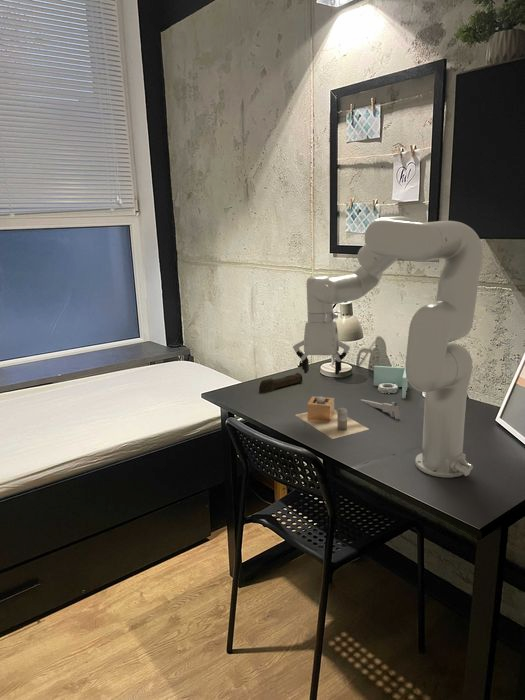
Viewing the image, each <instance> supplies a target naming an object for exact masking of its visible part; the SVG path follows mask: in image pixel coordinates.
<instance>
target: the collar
mask: <svg viewBox="0 0 525 700" xmlns="http://www.w3.org/2000/svg"><path fill="white" fill-rule="evenodd" d="M317 397H318V396H314V395H313V396H311V398H310V399H309V401H308V402H307V404H306V405H307V406H306V407H307V417H308V419H311V420H322V421H330V420H331V418H332V416H333V414H334V410H335V397H326V396H324V397H325V402H328V403H327V404H318V403H315V402H316V401H317Z"/></svg>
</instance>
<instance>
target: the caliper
mask: <svg viewBox="0 0 525 700" xmlns="http://www.w3.org/2000/svg"><path fill="white" fill-rule="evenodd" d="M360 402H363V403H364V404H366V405H368V406H370V407H372V408H376V409H381V410H382V412H384V413H389V416H390V417H391V418H394V419H395V420H400V408H399V405H398V402H397V401H396V402H395V401H391V403H387V402H383V403H380V402H376V401H372V400H368V399H367V400H366V399H360Z"/></svg>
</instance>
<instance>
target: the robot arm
mask: <svg viewBox="0 0 525 700" xmlns="http://www.w3.org/2000/svg"><path fill="white" fill-rule="evenodd" d="M364 242H365V243H364V245H363V246H362V247H360V248H359V250H358V252H357V260H358V263H359V267H358V268H357V269H356V270H355V271H354V272H352V273H350V274H344V275H339V276H329V275H313V276H310V277H308V278H307V279H306V303H307V305H306V306H307V309H306V310H307V311H306V312H307V321H305V324H304V325H305V326H304V334H303V335H304V336H303V340H301V341H300V342H298V343H296V344H294V345H293V347H292V348H293V350H294V352H295V354H296V355H297V356H298V357H299V359H300V360H301V363H302V364H301V365H302V370H303V374H307V373H308V372H309V371H310V370H309V369H310V366H309V358H308V357H309V356H332V357H333V358H334V359H335V363H334V364H335V365H334V368H335V369H334V370H335V371H334V373H335V375H337V376H338V375H339V374H340V372H341V371H342V360H344V358H345V357H347V355H348V353H349V351H350V349H351V346H350V345H348V344H346V343H344V342H342V341H340V340H339V333H338V330H339V329H338V324H337V321H336V320H335V319H338V318H339V315H338V313H335V312H334V307H333V306H334V305H336V304H342V303H346V302H351V301H356V300H360V299H361V298H363V297H364V296H366V294H368V293H369V292H371V290H373V289H374V288H375V287H376V286H377V285H378V284H379V283H380V281H381V279H382V277H383V273H384V272H386V270H387V269H388V268H390V267H391V266H393V264H394V263H396V262H397V261H398V260H404V261H410V262H417V263H425V262H432V261H438V260H444V261H445V264H444V266H443V268H442V271H441V273H440V276H439V279H438V281H437V290H436V291H437V292H436V297H435V301H434V302H432V303H429V304H426V305H424V306H421V307H420V308H418V310H417V311H415V313H414V314H413V316H412V318H411V320H410V324H409V327H408V328H409V329H408V338H407V346H406V354H405V364H404V365H405V367H404V368H405V370H406V376H407V379H408V384H410V386H411V387H412V388H413V389H415V390H417V391H418V392H421V393H425V395H424V404H423V405H424V406H423V427H422V428H423V429H422V444H421V445H422V446H421V447H422V448H421V449H422V451H421V453H419V454H417V455H416V456H415V458H414V460H415V461H414V464H415V466H416V468H418V470H419V471H421V472H422V473H425V474H428V475H429V476H433V477H438V478H446V479H447V478H457V477H461V476H463V475H464V476H465V477H467V476H469V475H470V473H471V471H472V470H473V469H474V465H473V464H471V463H470V462H468V461H467V460H466V458H467V457H466V456H467V455H466V454H465V453H464V452H463V449H464V437H465V435H464V434H465V420H466V419H465V417H466V410H467V409H466V408H467V397H468V396H467V395H468V391H469V390H468V389H469V385H470V381H471V377H472V373H473V358H472V355H471V354H470V351H469V350H468V349H467V348H466V347H464V346H463V345H461V344H460V343H456V342H455V341H458V340H460V339H462V338H465V337H467V336H468V334H470V332H471V331H472V328H473V325H474V324H473V323H474V317H475V310H476V303H477V297H478V296H477V295H478V287H479V281H480V276H481V275H480V274H481V270H482V264H483V257H484V251H483V243H482V240H481V238H480V237H479V234H478V233H477V232H476V231H475V230H474V229H473V228H472V227H471V226H469V225H467V224H465V223H463V222H460V221H456V220H437V221H427V222H418V221H417V222H416V220H414V219H412V218H410V217H407V216H399V215H398V216H384V217H378V218H376V219H374V220H373V221H372V222H370V224H369V225H368V226H367V228H366V229H365V233H364ZM301 347H303V351H304V352H303V351H302V350H301V349H300V348H301ZM340 348H341V349H343V352H342V353H340V352H339V351H340Z"/></svg>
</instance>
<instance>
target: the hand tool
mask: <svg viewBox="0 0 525 700" xmlns="http://www.w3.org/2000/svg"><path fill="white" fill-rule="evenodd" d="M298 383H299V384H302V383H303V375H302V374H301V373H300V372H296V373H294V374H291V375H287V376H284V377H283V376H282V377H279V378H275V379H273V378H267V379H263V380H262V381H261V382H260V384H259V387H258V391H259V393H262V394H263V393H268V392H273V391H274V390H276V389H280V388H284V387H286V386H287V387H288V386H291V385H296V384H298Z"/></svg>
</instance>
